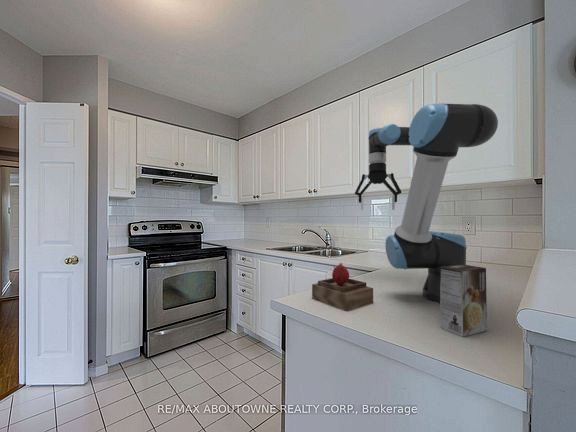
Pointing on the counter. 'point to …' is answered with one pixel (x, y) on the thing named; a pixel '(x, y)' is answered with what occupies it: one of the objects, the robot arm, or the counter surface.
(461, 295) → the coffee box
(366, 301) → the stand
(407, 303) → the counter surface
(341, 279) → the onion
